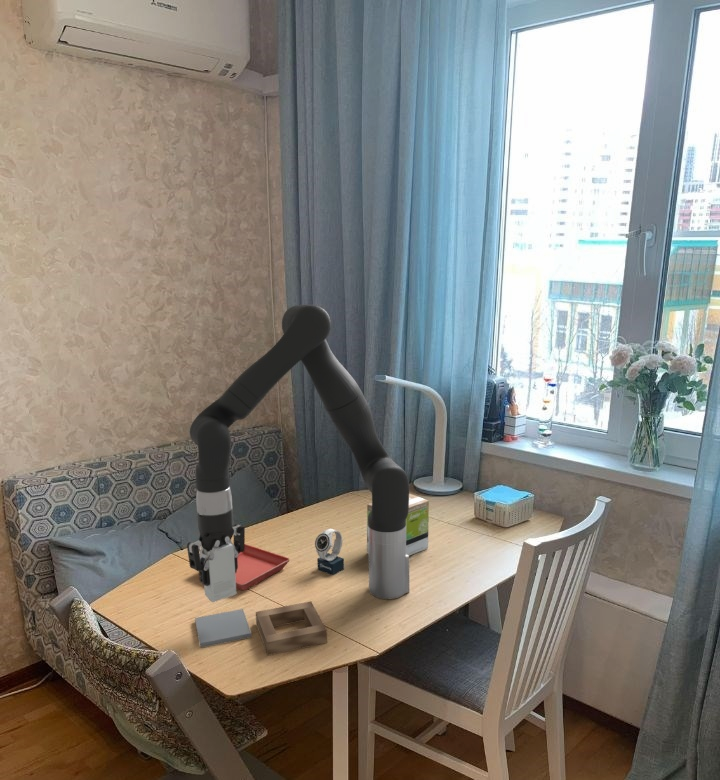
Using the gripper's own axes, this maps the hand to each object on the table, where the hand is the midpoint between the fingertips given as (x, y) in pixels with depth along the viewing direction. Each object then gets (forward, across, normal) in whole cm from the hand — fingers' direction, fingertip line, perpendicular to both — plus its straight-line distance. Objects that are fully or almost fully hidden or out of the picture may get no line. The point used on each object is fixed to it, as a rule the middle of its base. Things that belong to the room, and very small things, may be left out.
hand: (219, 578), depth 148 cm
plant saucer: (+13, -21, -18) cm, 30 cm away
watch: (+13, -36, -1) cm, 38 cm away
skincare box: (+4, 0, 0) cm, 4 cm away
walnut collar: (+12, -9, +13) cm, 20 cm away
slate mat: (+12, 0, 0) cm, 12 cm away
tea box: (+13, -56, +6) cm, 58 cm away
